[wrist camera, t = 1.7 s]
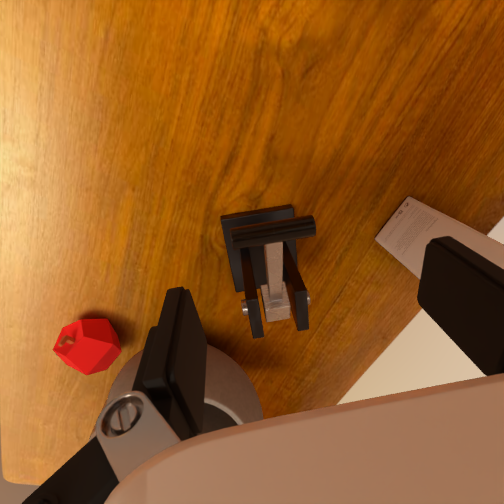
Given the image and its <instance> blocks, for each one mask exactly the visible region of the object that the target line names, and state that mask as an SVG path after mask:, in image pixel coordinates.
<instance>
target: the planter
mask: <svg viewBox="0 0 504 504" xmlns="http://www.w3.org/2000/svg"><path fill="white" fill-rule="evenodd" d="M143 350H144V349H143ZM143 350H141V351H140V352H138V353H137V354H136V355H134V356H133V357H132V358H131V359H130V360H129V361H128V362H127V363H126V364H125V366H124V367H123V368H122V369H121V371H120V372H119V374H118V375H117V377H116V379H115V381H114V383H113V385H112V387H111V389H110V392H109V396H108V400H107V404H108V403H109V402H110V401H112V400H113V399H114V398H116V397H117V396H119V395H120V394H123V393H125V392H128V391H131V390H132V387H133V383H134V380H135V377H136V373H137V370H138V367H139V363H140V360H141V357H142V354H143ZM107 404H106V405H107ZM260 420H263V413H262V409H261V405H260V401H259V398H258V396H257V393H256V391H255V388H254V386H253V384H252V383H251V381H250V379H249V378H248V376H247V375H246V373H245V372H244V370H243V369H242V368H241V367H240V366H239V365H238V364H237V363H236V362H235V361H234V360H233V359H232V358H231V357H229V356H228V355H227V354H225V353H224V352H222V351H220V350H219V349H217V348H215V347H213V346H211V345H208V344H207V360H206V379H205V397H204V416H203V430H202V433H198V434H197V436H198V435H201V434H205V433H208V432H212V431H216V430H220V429H223V428H228V427H232V426H237V425H241V424H246V423H251V422H255V421H260Z"/></svg>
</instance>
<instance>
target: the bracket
mask: <svg viewBox="0 0 504 504" xmlns="http://www.w3.org/2000/svg"><path fill="white" fill-rule="evenodd" d="M289 218H294V209H293V207H292V205H291V204H290V205H284V206H278V207H272V208H266V209H260V210H254V211H248V212H242V213H236V214H230V215H224V216H221V224H222V229H223V234H224V239H225V243H226V248H227V253H228V257H229V262H230V267H231V271H232V276H233V281H234V285H235V290H236V292H242V291H245V298H246V299H244V300H241V305H242V311H243V315H244V316H245V315H249V320H250V325H251V330H252V335H253V339H255V338H261V337H264V332H263V326H262V320H261V314H260V308H259V302H258V296H257V290H256V289H259V288H260V286H261V285H266V284H267V276H266V264H265V253H264V245H261V246H255V247H249V248H243V249H237V250H234V249H233V246H232V241H231V235H230V229H231V228H236V227H242V226H248V225H254V224H260V223H266V222H272V221H278V220H283V219H289ZM283 281H285V284H286V288H287V292H288V297H289V301H290V305H291V311H292V314H293V317H294V320H295V323H296V327H297V330H298V331H302V330H308V329H309V319H308V304H310V296H309V292H308V290H307V289H306V287H305V285H304V282H303V280H302V278H301V275H300V273H299V271H298V266H297V252H296V240H290V241H284V242H283Z"/></svg>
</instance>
